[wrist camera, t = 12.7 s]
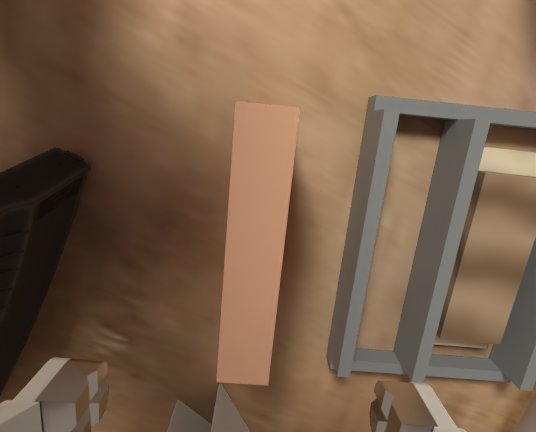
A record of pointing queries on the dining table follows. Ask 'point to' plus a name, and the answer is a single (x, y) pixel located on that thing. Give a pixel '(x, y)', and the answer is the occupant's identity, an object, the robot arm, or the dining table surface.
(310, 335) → the dining table surface
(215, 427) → the brochure
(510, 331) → the rack
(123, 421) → the dining table surface
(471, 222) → the upper offcut
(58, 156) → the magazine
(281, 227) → the salmon brown rectangular block
